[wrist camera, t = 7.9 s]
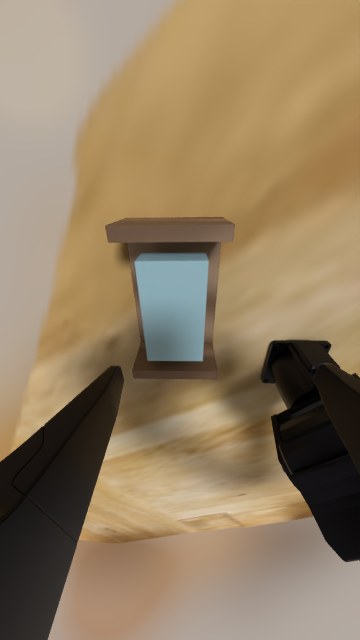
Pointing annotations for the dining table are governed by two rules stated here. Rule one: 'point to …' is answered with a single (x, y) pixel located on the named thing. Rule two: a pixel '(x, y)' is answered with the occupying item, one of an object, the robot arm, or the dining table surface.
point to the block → (173, 304)
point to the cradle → (175, 239)
